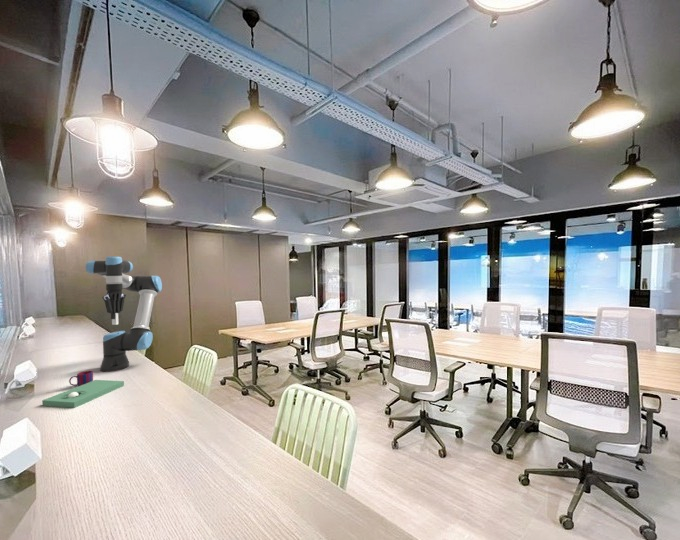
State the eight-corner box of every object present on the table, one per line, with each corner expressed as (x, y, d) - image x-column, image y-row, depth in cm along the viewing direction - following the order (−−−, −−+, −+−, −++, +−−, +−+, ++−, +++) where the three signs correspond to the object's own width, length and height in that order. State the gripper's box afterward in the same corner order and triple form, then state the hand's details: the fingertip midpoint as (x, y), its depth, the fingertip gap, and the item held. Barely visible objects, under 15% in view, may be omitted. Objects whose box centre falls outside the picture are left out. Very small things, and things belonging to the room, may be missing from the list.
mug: (94, 384, 165) (93, 372, 165) (70, 390, 158) (69, 377, 158) (91, 381, 170) (91, 369, 170) (68, 387, 162) (68, 374, 162)
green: (95, 384, 166) (95, 379, 166) (123, 385, 163) (123, 381, 163) (42, 405, 140) (42, 400, 140) (74, 407, 137) (74, 402, 137)
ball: (76, 394, 148) (70, 390, 146) (82, 394, 148) (76, 390, 145) (69, 402, 145) (63, 398, 143) (76, 402, 145) (70, 398, 142)
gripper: (118, 282, 177) (119, 322, 177) (97, 284, 164) (98, 326, 164) (129, 282, 176) (130, 322, 176) (109, 284, 163) (110, 326, 163)
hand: (115, 324), depth 170 cm, fingers closed
